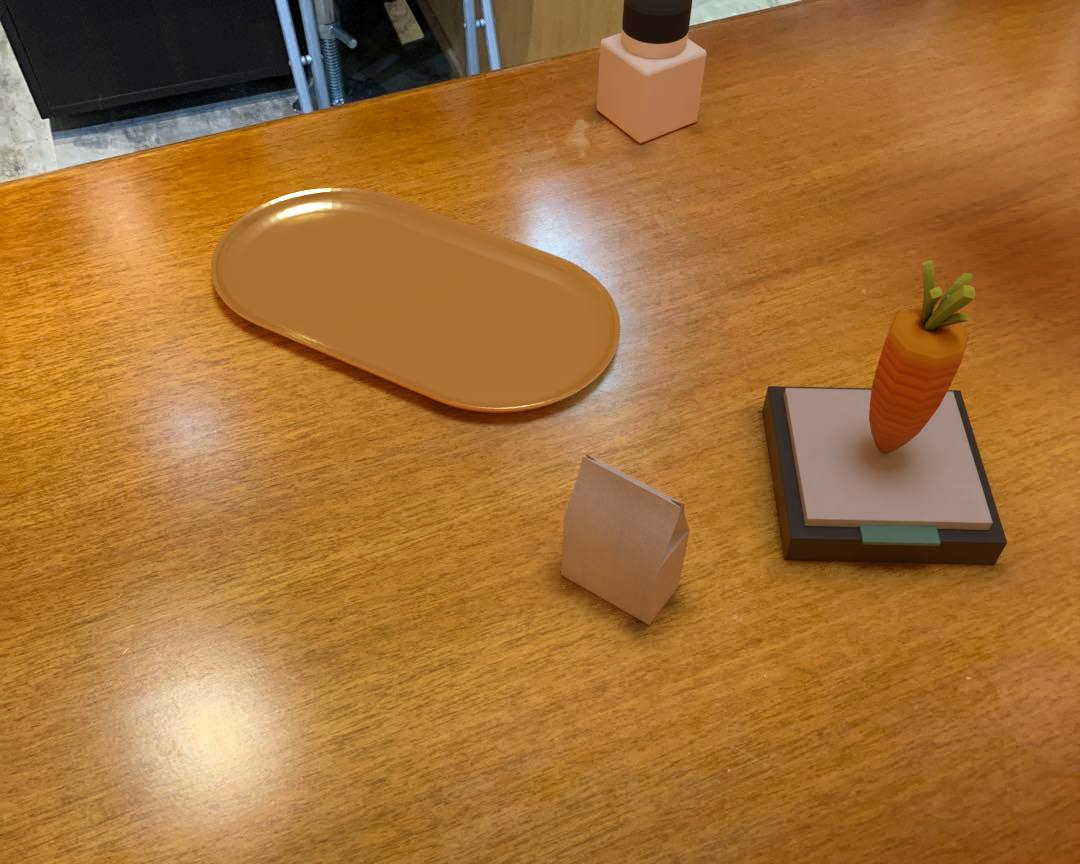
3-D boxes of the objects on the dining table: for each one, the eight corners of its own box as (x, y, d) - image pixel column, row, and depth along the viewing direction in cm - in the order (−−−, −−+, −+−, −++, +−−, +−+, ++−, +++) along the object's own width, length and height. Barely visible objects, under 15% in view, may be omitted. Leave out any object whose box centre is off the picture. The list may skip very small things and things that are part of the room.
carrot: (841, 423, 75) (901, 245, 63) (913, 426, 75) (986, 248, 63) (851, 477, 72) (916, 301, 60) (926, 480, 72) (1006, 304, 60)
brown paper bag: (649, 625, 69) (665, 527, 61) (561, 575, 71) (566, 474, 63) (678, 586, 71) (698, 486, 63) (592, 538, 73) (600, 436, 65)
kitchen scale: (950, 413, 80) (964, 381, 78) (996, 569, 72) (1013, 540, 69) (762, 408, 81) (769, 377, 78) (785, 564, 72) (794, 535, 69)
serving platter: (546, 459, 77) (546, 443, 76) (166, 297, 87) (161, 282, 86) (658, 308, 87) (660, 293, 86) (306, 179, 97) (304, 164, 96)
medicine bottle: (698, 122, 104) (716, -4, 94) (639, 145, 101) (651, 18, 92) (653, 89, 107) (665, -36, 98) (594, 110, 105) (601, -16, 95)
